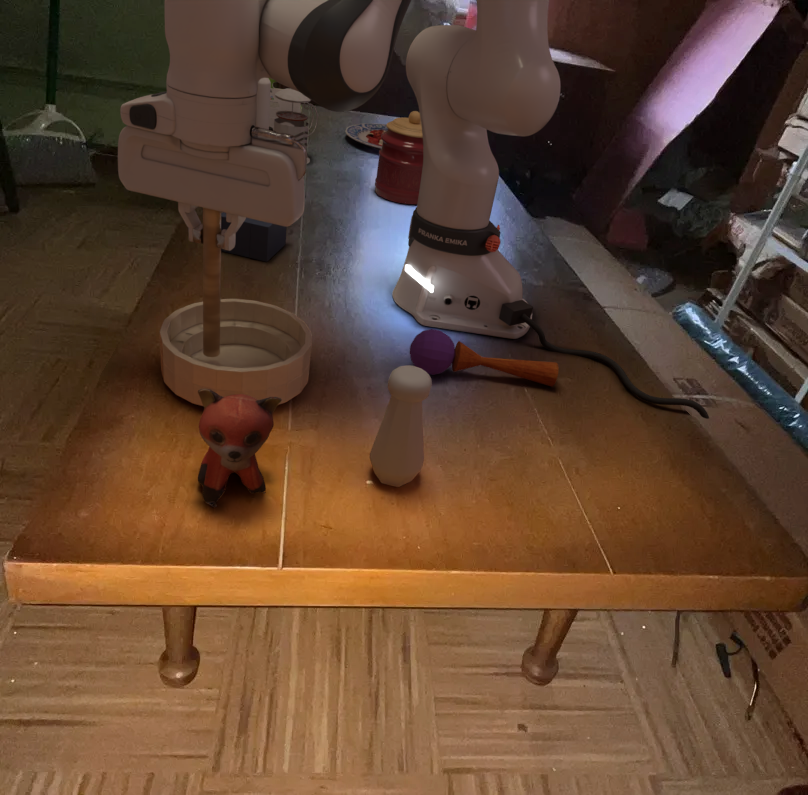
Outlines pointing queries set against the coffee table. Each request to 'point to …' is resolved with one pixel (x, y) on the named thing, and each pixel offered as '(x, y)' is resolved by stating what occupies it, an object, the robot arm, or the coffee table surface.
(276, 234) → the stand
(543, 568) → the coffee table surface
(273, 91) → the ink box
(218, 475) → the stuffed fox
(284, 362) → the bowl
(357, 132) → the ceramic plate
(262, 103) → the black and white bottle
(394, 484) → the salt shaker
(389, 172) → the kitchen canister
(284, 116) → the french press
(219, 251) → the stick
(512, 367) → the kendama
